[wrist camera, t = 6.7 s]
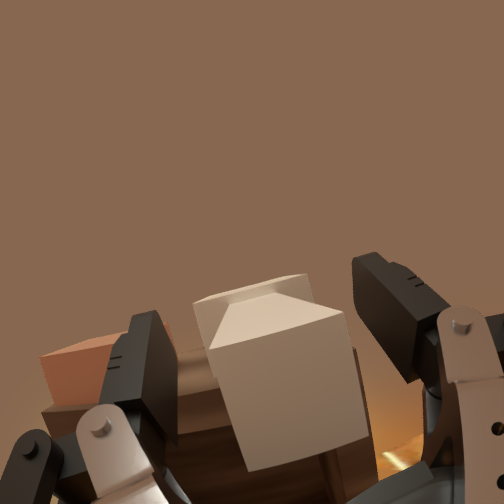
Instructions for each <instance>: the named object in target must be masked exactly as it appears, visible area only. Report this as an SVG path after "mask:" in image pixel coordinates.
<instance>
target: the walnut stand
mask: <svg viewBox="0 0 504 504" xmlns="http://www.w3.org/2000/svg"><path fill="white" fill-rule="evenodd" d="M352 350H353V355H354V359H355V364H356V369H357V374H358V379H359V384H360V389H361V394H362V399H363V405H364V410H365V416H366V421H367V427H368V433H369V436H367V437H365V438H362V439H359V440H357V441H354V442H351V443H349V444H346V445H343V446H340V447H337V448H334V449H331V450H328V451H325V452H322V453H319V454H316V455H313V456H310V457H306V458H303V459H299V460H296V461H292V462H288V463H285V464H281V465H277V466H273V467H269V468H265V469H260V470H256V471H251V472H248V469H247V466H246V463H245V461H244V458H243V455H242V452H241V449H240V446H239V444H238V441H237V438H236V435H235V432H234V429H233V426H232V423H231V420H230V417H229V414H228V411H227V408H226V405H225V402H224V398H223V395H222V392H221V389H220V386H219V383H218V379H217V377H213V374H212V371H211V368H210V364H209V361H208V358H207V354H206V351H205V347H204V348H199V349H195V350H190V351H186V352H181V353H177V356H178V359H179V364H178V449H177V450H169V451H165V463H166V464H167V465H168V466H169V467H170V469H171V471H172V472H173V474H174V475H175V477H176V478H177V480H178V481H179V483H180V484H181V486H182V487H183V488H184V490H185V491H186V493H187V494H188V496H189V497H190V498H191V500H192V501H193V503H194V504H345V503H347V502H349V501H350V500H352V499H353V498H355V497H356V496H358V495H360V494H361V493H363V492H364V491H366V490H367V489H369V488H370V487H372V486H373V485H374V484H376V483H377V482H379V481H378V472H377V465H376V458H375V451H374V444H373V438H372V432H371V425H370V420H369V414H368V408H367V402H366V397H365V392H364V386H363V381H362V376H361V371H360V366H359V361H358V357H357V352H356V348H354V347H352ZM96 406H98V403H91V404H81V405H70V406H58V407H56V406H55V404H54V405H52V406H51V407H49V408H47V409H46V410H45V411H43V412H42V413H41V414H42V416H43V418H44V421H45V423H46V426H47V428H48V430H49V433H50V435H51V437H52V439H53V440H55V439H57V438H60V437H63V436H66V435H69V434H71V433H74V432H76V429H77V425H78V422H79V421H80V419H81V417H82V416H83V415H84V414H85V413H86V412H87V411H89V410H90V409H92V408H93V407H96Z"/></svg>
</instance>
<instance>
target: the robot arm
mask: <svg viewBox="0 0 504 504" xmlns="http://www.w3.org/2000/svg"><path fill="white" fill-rule="evenodd" d="M352 276H353V297H354V304H355V308H356V311H357V313H358V315H359V317H360V318H361V319H362V321H363V322H364V324H365V325H366V326H367V328H368V329H369V330H370V332H371V333H372V335H373V336H374V337H375V339H376V340H377V341H378V343H379V344H380V346H381V347H382V348H383V350H384V351H385V353H386V354H387V355H388V357H389V358H390V360H391V361H392V362H393V364H394V365H395V367H396V368H397V370H398V371H399V372H400V374H401V375H402V377H403V378H404V380H405V381H406V382H407V384H408V383H411V382H413V381H415V380H417V379H419V378H420V379H421V380H422V382H423V383H424V386H423V390H422V398H423V426H424V445H423V453H422V457H421V462H419V463H417V464H415V465H413V466H411V467H409V468H407V469H405V470H403V471H401V472H399V473H396V474H394V475H392V476H389V477H387V478H385V479H383V480H380V481H379V482H377V483H376V484H374V485H373V486H372V487H370V488H369V489H367V490H366V491H364V492H363V493H361V494H360V495H358V496H356V497H355V498H353V499H352V500H350V501H349V502H347V503H345V504H504V314H499V315H494V316H488V317H484V316H483V315H482V314H481V313H480V312H478V311H477V310H475V309H473V308H470V307H466V306H453V307H451V306H450V305H449V304H448V303H447V302H446V301H445V300H444V299H443V298H441V297H440V296H439V295H438V294H437V293H436V292H435V291H433V290H432V289H431V288H430V287H429V286H428V285H427V284H424V282H423V281H422V280H421V279H420V278H419V277H417V276H416V275H415V274H414V273H413V272H412V271H411V270H410V269H408V268H407V267H405V266H402V265H400V264H397V263H395V262H391V263H388V262H387V261H386V260H385V259H384V258H382V257H381V256H380V255H379V254H378V253H377V252H372V253H369V254H365V255H362V256H358V257H355V258H353V260H352ZM109 358H110V360H109V361H108V365H107V371H106V373H105V377H104V381H103V385H102V390H101V394H100V398H99V403H98V406H96V407H93V408H92V409H90V410H89V411H87V412H86V413H85V414H84V415H83V416H82V417H81V419H80V421H79V422H78V425H77V429H76V432H74V433H71V434H69V435H66V436H63V437H60V438H57V439H55V440H53V439H52V438H51V437H50V436H49V435H48V434H47V433H46V432H45V431H43V430H40V429H34V430H30V431H28V432H26V433H24V434H23V435H22V436H21V437H20V438H19V439H18V440H17V442H16V443H15V445H14V447H13V450H12V452H11V455H10V457H9V460H8V462H7V465H6V467H5V470H4V472H3V475H2V477H1V480H0V504H50V501H51V498H52V495H54V496H55V497H57V498H58V499H59V500H58V504H194V503H193V501H192V500H191V498H190V497H189V496H188V494H187V493H186V491H185V490H184V488H183V487H182V486H181V484H180V483H179V481H178V480H177V478H176V477H175V475H174V474H173V472H172V471H171V469H170V467H169V466H168V465H167V464H166V463H165V451H169V450H177V449H178V361H177V356H176V352H175V349H174V347H173V345H172V342H171V340H170V338H169V336H168V334H167V332H166V329H165V327H164V325H163V323H162V320H161V318H160V316H159V314H158V312H157V311H156V310H153V311H149V312H145V313H140V314H136V315H133V316H132V318H131V322H130V326H129V330H128V333H124V334H121V335H120V337H119V338H118V339H117V341H116V342H115V343H114V345H113V346H112V350H111V354H110V357H109Z"/></svg>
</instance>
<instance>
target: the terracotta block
mask: <svg viewBox="0 0 504 504" xmlns="http://www.w3.org/2000/svg"><path fill="white" fill-rule="evenodd" d="M163 325H164V327H165V329H166V332H167V334H168V336H169V338H170V340H171V342H172V345H173V347H174V349H175V346H174V343H173V339H172V336H171V332H170V329H169V325H168V322H166V323H163ZM124 333H128V331H126V332H121V333H117V334H112V335H107V336H103V337H98V338H93V339H89V340H86V341H83V342H80V343H77V344H75V345H72V346H69V347H67V348H64V349H61V350H58V351H56V352H53V353H50V354H47V355H44V356H41V357H39V358H40V361H41V365H42V368H43V371H44V375H45V378H46V381H47V383H48V387H49V390H50V392H51V395H52V398H53V401H54V403H55V406H56V407H58V406H70V405H81V404H91V403H99V398H100V394H101V390H102V385H103V381H104V377H105V373H106V371H107V365H108V361H109V360H110V358H109V357H110V354H111V350H112V346H113V345H114V343H115V342H116V341H117V339H118V338H119V337H120V335H121V334H124ZM175 352H176V350H175ZM176 356H177V353H176ZM177 361H178V364H179V359H178V356H177Z"/></svg>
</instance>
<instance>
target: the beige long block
mask: <svg viewBox="0 0 504 504" xmlns="http://www.w3.org/2000/svg"><path fill="white" fill-rule="evenodd" d="M193 308H194V312H195V315H196V319H197V323H198V326H199V330H200V333H201V337H202V340H203V344H204V347H205V351H206V354H207V358H208V361H209V364H210V368H211V371H212V374H213V377H217V379H218V383H219V386H220V389H221V392H222V395H223V398H224V402H225V405H226V408H227V411H228V414H229V417H230V420H231V423H232V426H233V429H234V432H235V435H236V438H237V441H238V444H239V446H240V449H241V452H242V455H243V458H244V461H245V463H246V466H247V469H248V472H251V471H256V470H260V469H265V468H269V467H273V466H277V465H281V464H285V463H288V462H292V461H296V460H299V459H303V458H306V457H310V456H313V455H316V454H319V453H322V452H325V451H328V450H331V449H334V448H337V447H340V446H343V445H346V444H349V443H351V442H354V441H357V440H359V439H362V438H365V437H367V436H369V433H368V427H367V421H366V416H365V410H364V405H363V399H362V394H361V389H360V384H359V379H358V374H357V369H356V364H355V359H354V355H353V350H352V345H351V341H350V337H349V332H348V328H347V323H346V319H345V315H344V312H342V311H338V310H334V309H331V308H328V307H324V306H321V305H317V304H315V303H314V299H313V295H312V291H311V287H310V284H309V280H308V276H307V274H299V275H292V276H285V277H280V278H276V279H272V280H269V281H265V282H261V283H258V284H254V285H250V286H247V287H243V288H239V289H235V290H231V291H228V292H224V293H219V294H215V295H211V296H208V297H206V298H204V299H202V300H200V301H198V302H195V303H193Z"/></svg>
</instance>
